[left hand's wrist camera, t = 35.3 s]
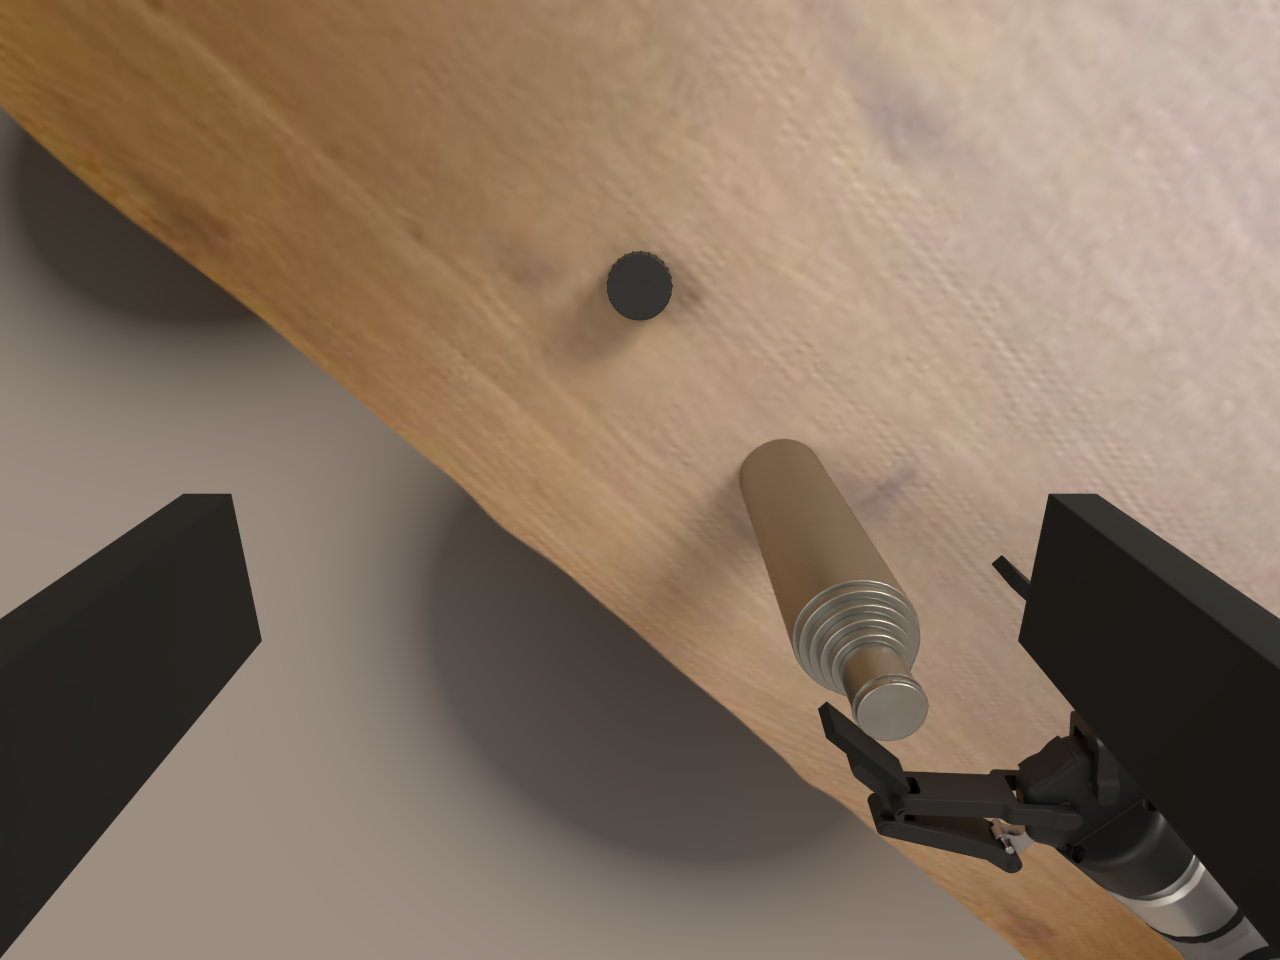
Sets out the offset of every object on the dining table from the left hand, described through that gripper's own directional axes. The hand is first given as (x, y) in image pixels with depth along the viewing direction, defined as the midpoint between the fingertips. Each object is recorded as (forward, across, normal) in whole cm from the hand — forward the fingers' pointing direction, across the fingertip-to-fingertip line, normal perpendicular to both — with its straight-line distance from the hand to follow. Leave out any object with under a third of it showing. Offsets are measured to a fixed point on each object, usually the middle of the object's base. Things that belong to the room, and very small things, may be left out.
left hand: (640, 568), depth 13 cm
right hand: (+27, +16, -19) cm, 36 cm away
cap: (+37, 0, 0) cm, 37 cm away
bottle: (+38, +10, -13) cm, 42 cm away
